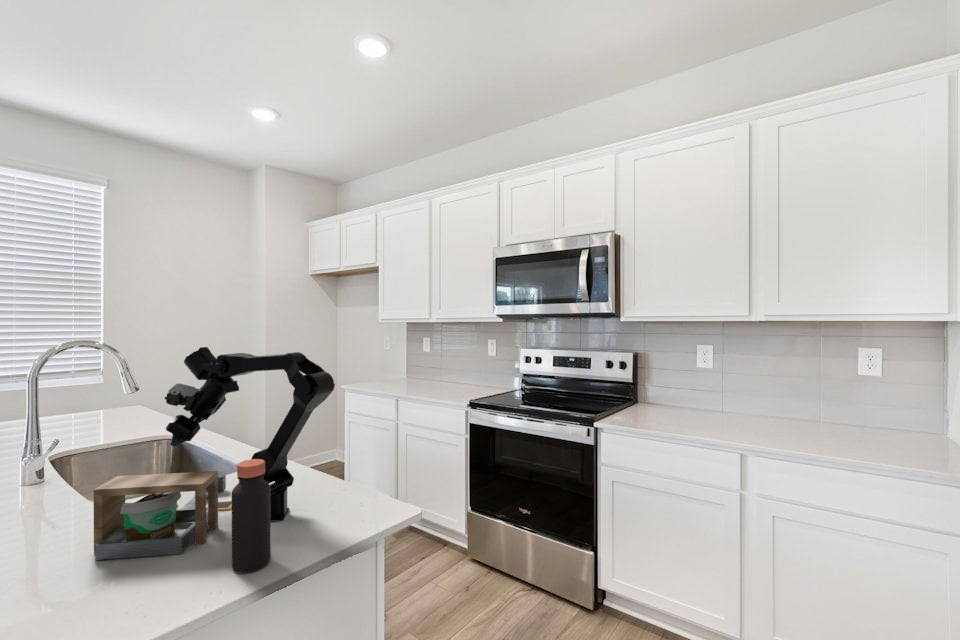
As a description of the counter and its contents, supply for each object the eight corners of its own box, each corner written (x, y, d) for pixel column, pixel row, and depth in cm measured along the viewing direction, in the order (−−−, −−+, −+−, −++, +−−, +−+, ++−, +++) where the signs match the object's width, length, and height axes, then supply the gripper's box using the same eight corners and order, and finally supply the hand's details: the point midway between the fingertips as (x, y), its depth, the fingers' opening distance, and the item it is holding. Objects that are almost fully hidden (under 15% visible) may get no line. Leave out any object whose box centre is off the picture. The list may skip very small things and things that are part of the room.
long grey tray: (242, 487, 128) (242, 473, 128) (181, 553, 93) (181, 533, 93) (181, 491, 125) (181, 477, 125) (95, 560, 90) (95, 539, 90)
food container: (145, 555, 92) (145, 506, 92) (120, 552, 94) (120, 503, 94) (194, 527, 104) (194, 484, 104) (172, 525, 106) (171, 482, 106)
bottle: (246, 554, 93) (246, 456, 93) (277, 556, 92) (277, 458, 92) (223, 572, 86) (223, 467, 86) (256, 575, 85) (256, 469, 85)
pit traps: (236, 502, 119) (236, 500, 119) (229, 510, 114) (229, 508, 114) (156, 507, 116) (156, 505, 116) (145, 515, 111) (145, 513, 111)
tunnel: (218, 527, 105) (217, 471, 105) (203, 544, 97) (202, 483, 97) (117, 534, 101) (117, 476, 101) (93, 552, 93) (93, 489, 93)
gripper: (201, 360, 123) (172, 401, 126) (161, 393, 105) (129, 440, 108) (239, 382, 126) (210, 422, 129) (206, 418, 108) (173, 463, 111)
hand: (182, 435), depth 119 cm, fingers open, 9 cm apart
